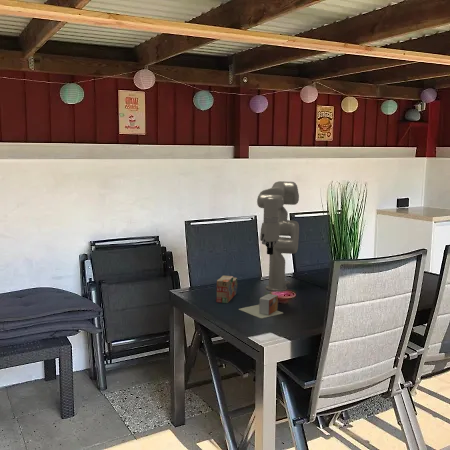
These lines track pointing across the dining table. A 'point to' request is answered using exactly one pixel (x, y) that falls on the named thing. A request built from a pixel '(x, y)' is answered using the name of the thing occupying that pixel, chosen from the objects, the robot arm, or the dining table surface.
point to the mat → (255, 312)
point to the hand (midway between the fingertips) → (269, 254)
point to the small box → (268, 304)
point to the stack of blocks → (226, 289)
